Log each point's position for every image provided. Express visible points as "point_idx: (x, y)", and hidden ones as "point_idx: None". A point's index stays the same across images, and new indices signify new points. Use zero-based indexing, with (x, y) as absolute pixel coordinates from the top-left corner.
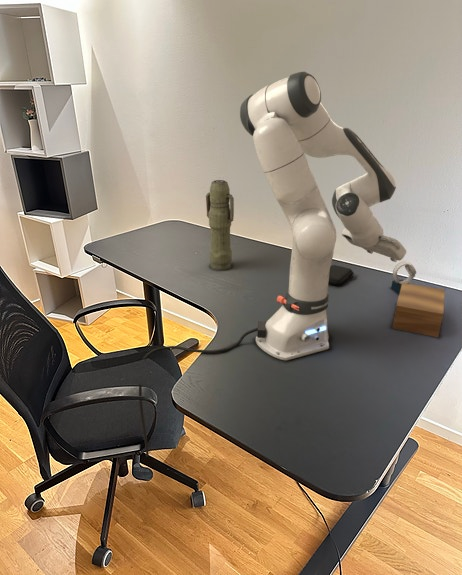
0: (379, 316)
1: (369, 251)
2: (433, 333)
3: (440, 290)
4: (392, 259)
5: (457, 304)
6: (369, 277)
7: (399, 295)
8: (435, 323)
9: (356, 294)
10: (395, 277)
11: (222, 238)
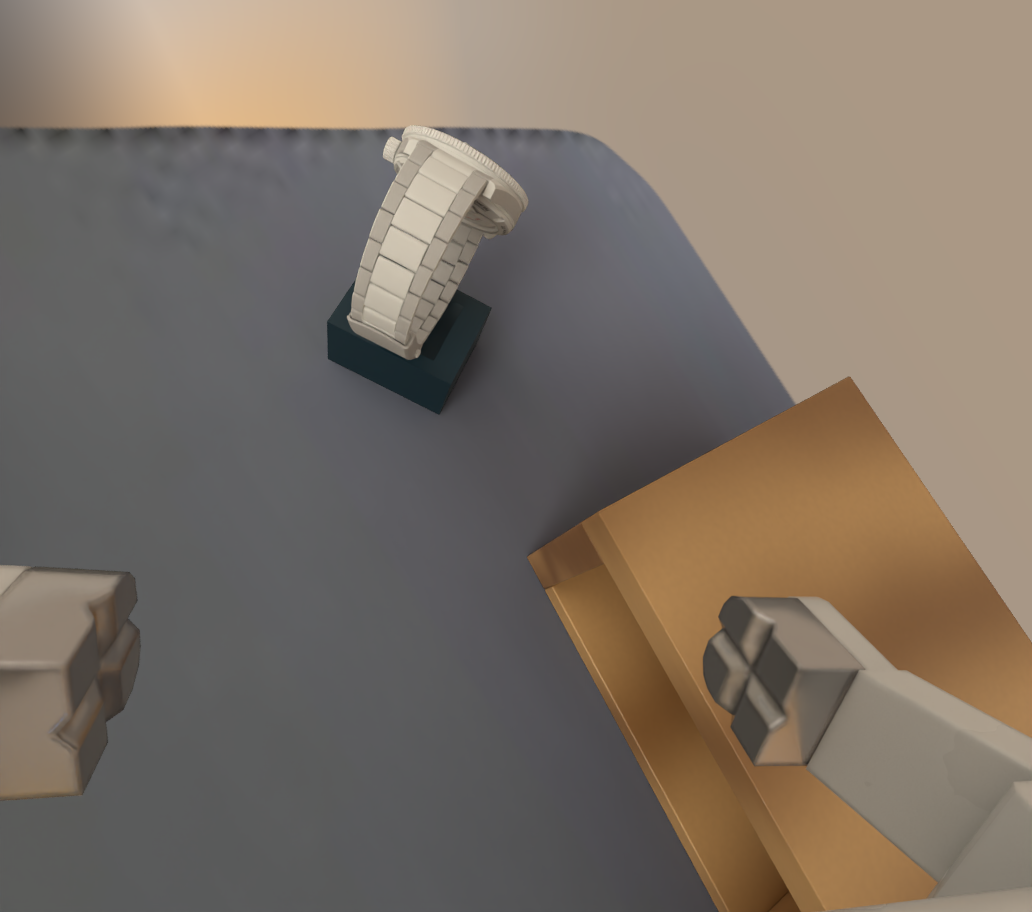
0: (572, 891)
1: (65, 793)
2: None
3: (851, 415)
4: (815, 769)
5: (723, 294)
6: (50, 288)
7: (781, 825)
8: None
9: (160, 702)
10: (396, 352)
11: None
